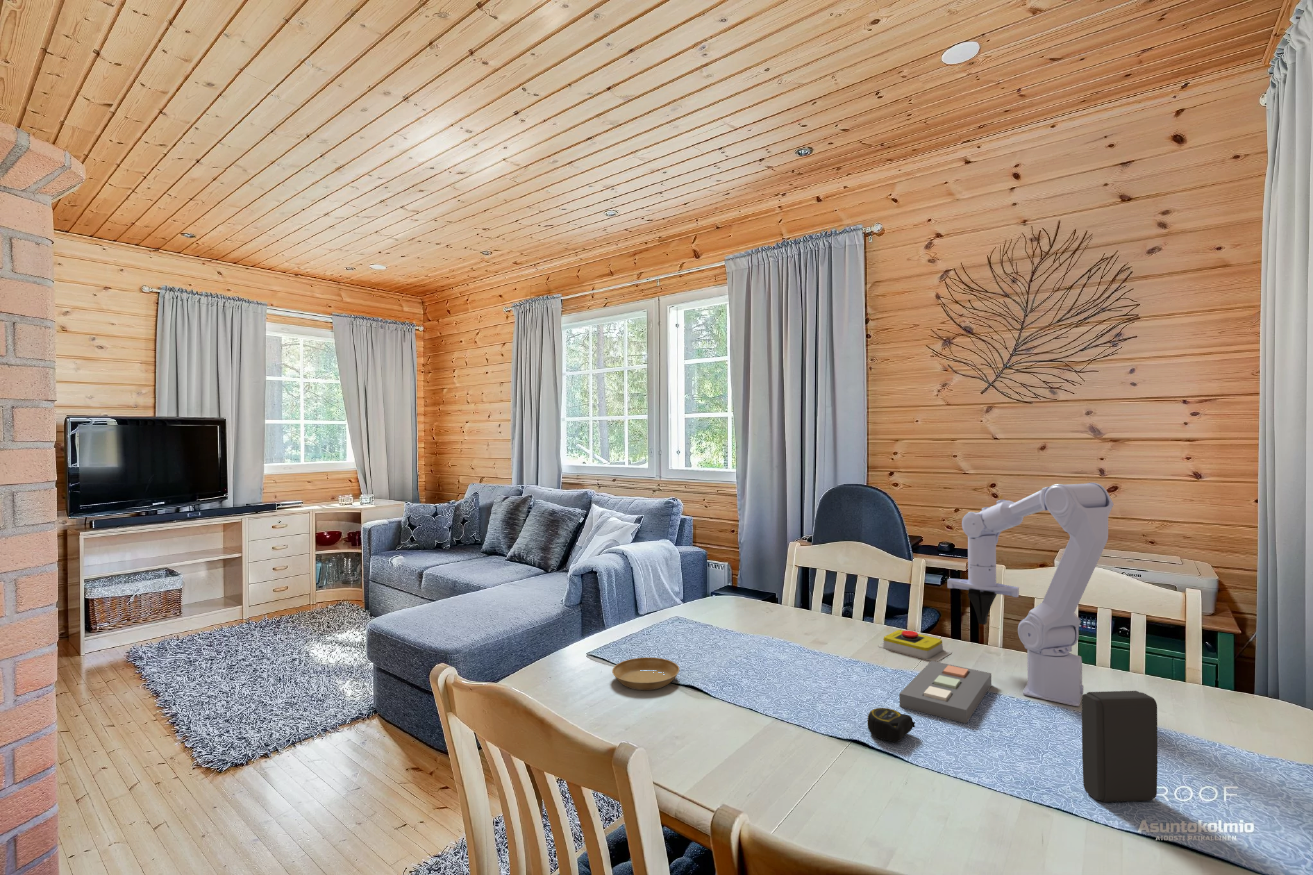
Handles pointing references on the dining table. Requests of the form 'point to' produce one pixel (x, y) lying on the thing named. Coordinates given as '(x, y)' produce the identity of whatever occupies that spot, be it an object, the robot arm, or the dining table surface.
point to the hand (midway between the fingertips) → (982, 623)
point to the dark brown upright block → (1119, 746)
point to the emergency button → (915, 645)
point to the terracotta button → (956, 671)
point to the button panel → (961, 698)
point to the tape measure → (889, 724)
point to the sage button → (947, 682)
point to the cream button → (937, 693)
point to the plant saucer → (645, 673)
